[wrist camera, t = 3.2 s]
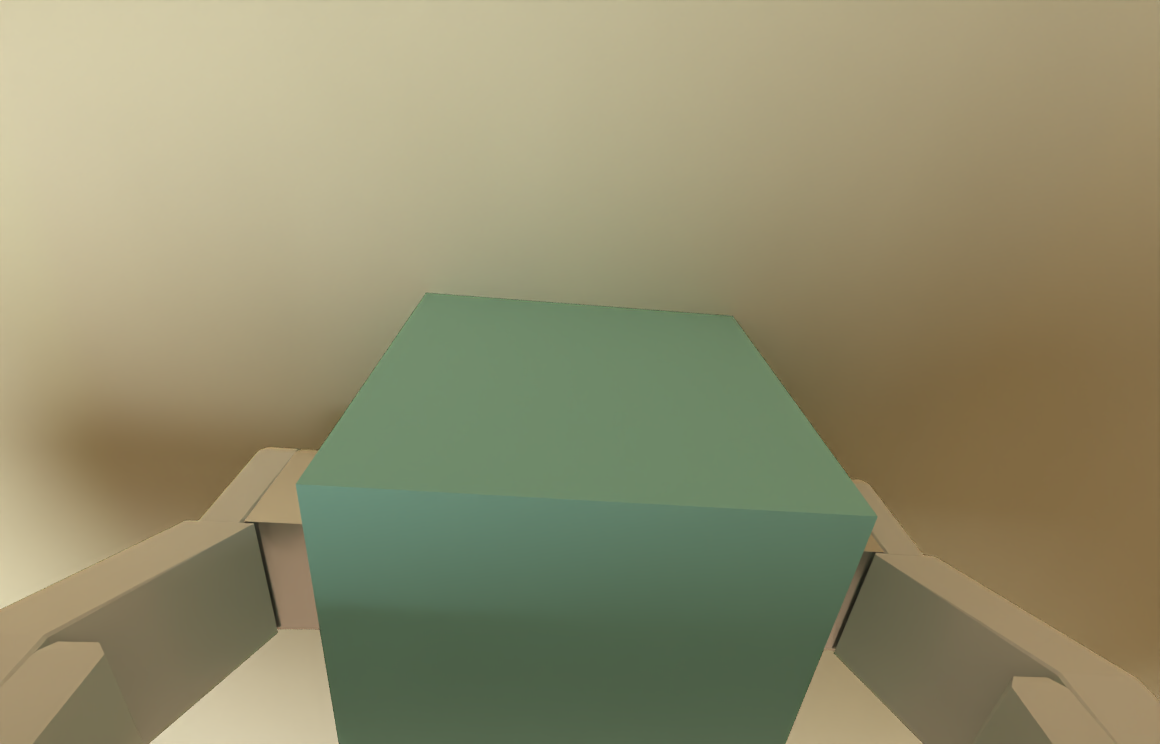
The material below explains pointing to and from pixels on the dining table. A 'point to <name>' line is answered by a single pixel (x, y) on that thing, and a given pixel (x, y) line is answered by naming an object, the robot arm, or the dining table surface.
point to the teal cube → (574, 533)
